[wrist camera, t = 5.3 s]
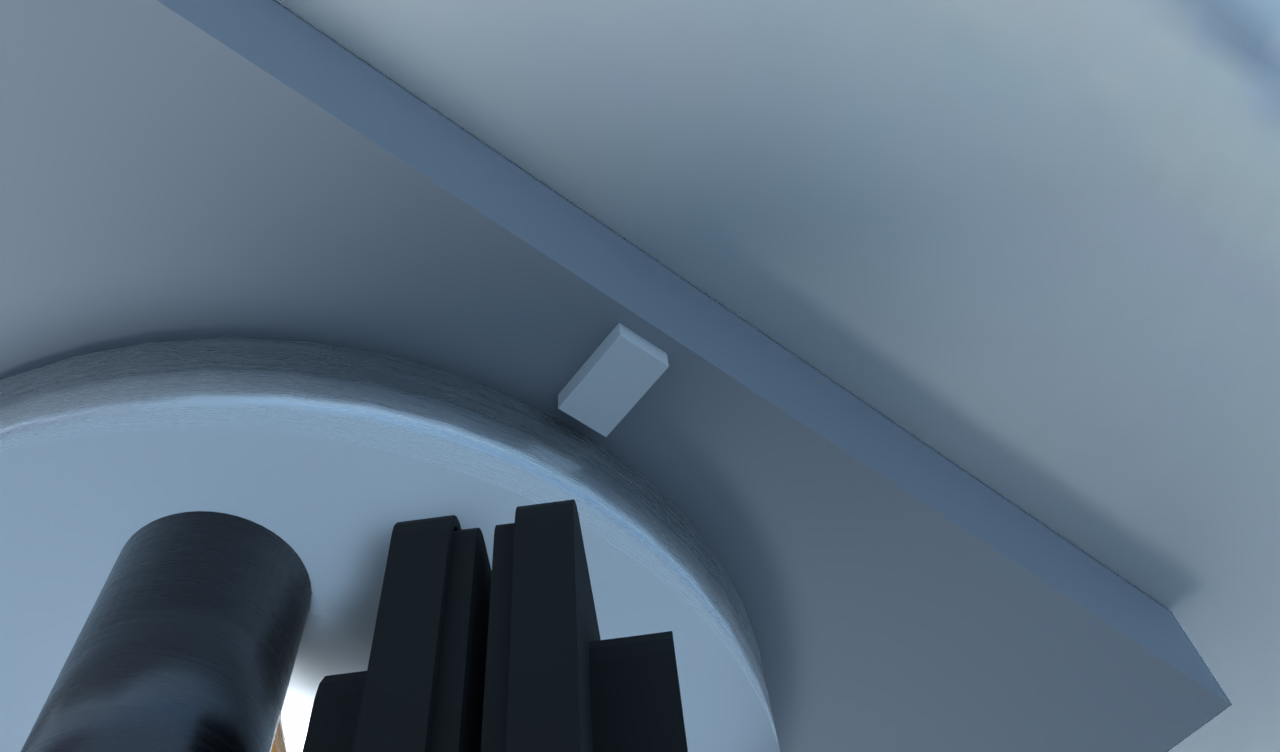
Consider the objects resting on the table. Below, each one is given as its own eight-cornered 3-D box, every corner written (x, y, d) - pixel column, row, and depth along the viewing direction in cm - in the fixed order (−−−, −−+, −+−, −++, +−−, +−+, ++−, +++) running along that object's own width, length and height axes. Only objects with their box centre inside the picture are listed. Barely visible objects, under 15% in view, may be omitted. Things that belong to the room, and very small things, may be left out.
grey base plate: (1171, 611, 19) (1242, 720, 17) (591, 1068, 25) (594, 1186, 23) (-263, -365, 11) (-439, -375, 9) (-603, 647, 17) (-754, 773, 15)
